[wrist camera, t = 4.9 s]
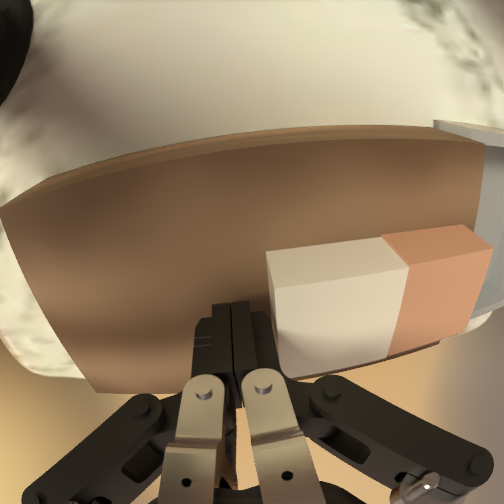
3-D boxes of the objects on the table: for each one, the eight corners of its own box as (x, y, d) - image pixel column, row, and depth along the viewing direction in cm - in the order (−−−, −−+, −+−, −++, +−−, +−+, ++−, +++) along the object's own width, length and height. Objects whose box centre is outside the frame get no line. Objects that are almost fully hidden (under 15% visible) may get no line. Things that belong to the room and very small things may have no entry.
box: (433, 119, 14) (471, 128, 11) (515, 132, 14) (547, 143, 11) (410, 304, 21) (431, 333, 18) (487, 282, 21) (508, 303, 18)
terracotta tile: (381, 234, 12) (409, 265, 10) (462, 224, 12) (493, 248, 10) (368, 321, 14) (386, 356, 12) (442, 303, 14) (464, 331, 12)
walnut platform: (47, 178, 14) (-3, 209, 10) (428, 127, 14) (485, 143, 10) (113, 341, 20) (96, 392, 16) (408, 300, 21) (438, 343, 16)
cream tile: (265, 251, 12) (274, 288, 10) (380, 236, 12) (409, 267, 10) (273, 340, 14) (280, 379, 12) (368, 323, 14) (386, 357, 12)
